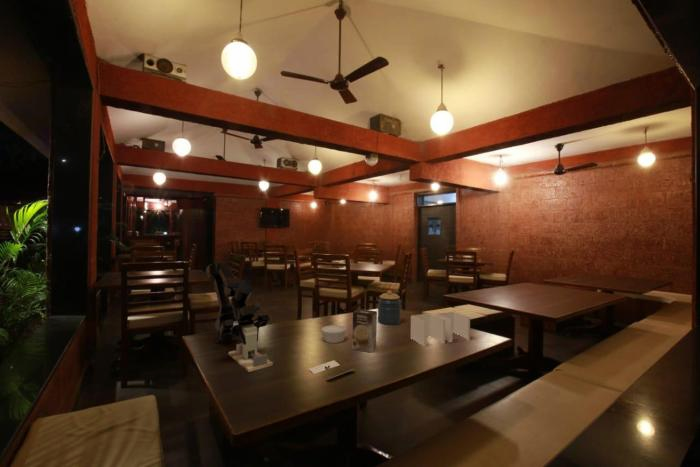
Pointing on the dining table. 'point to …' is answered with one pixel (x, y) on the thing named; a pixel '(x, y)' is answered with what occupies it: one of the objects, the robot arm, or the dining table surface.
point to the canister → (389, 309)
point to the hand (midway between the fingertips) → (251, 342)
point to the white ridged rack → (253, 356)
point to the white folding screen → (439, 326)
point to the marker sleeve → (250, 341)
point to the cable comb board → (248, 361)
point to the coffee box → (364, 330)
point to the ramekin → (334, 333)
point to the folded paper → (325, 367)
